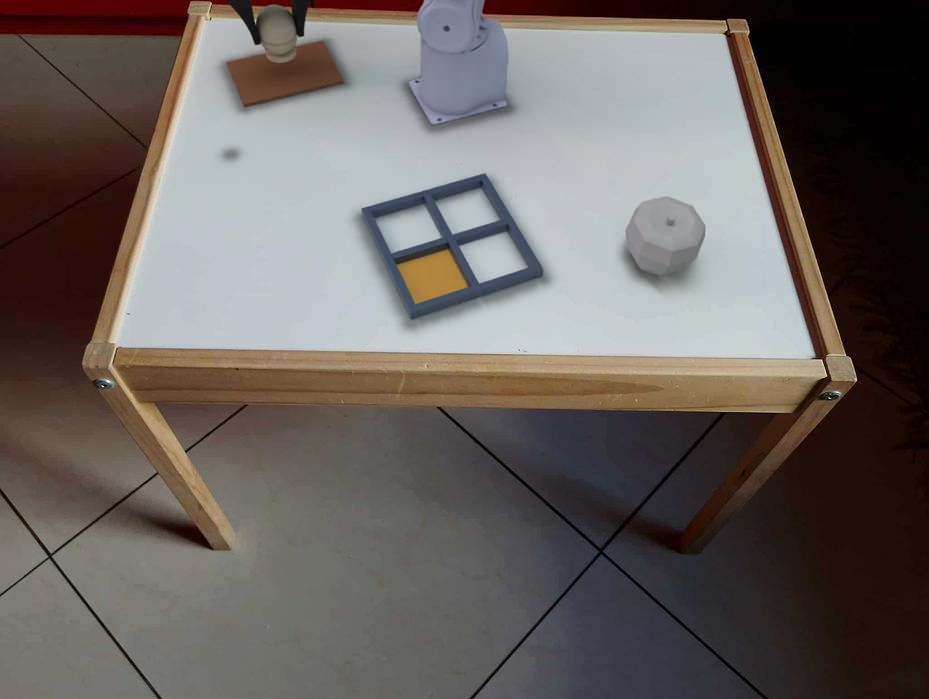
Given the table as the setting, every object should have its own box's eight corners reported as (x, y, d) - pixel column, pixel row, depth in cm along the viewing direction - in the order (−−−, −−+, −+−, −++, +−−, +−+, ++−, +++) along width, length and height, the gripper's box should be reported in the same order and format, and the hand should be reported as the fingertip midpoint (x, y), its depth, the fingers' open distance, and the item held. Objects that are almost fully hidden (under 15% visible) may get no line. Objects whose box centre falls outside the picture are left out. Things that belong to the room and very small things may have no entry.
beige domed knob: (295, 38, 89) (287, -7, 84) (304, 61, 87) (297, 16, 82) (258, 45, 88) (248, 0, 83) (266, 68, 86) (257, 23, 81)
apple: (614, 227, 79) (628, 183, 74) (688, 233, 79) (708, 189, 74) (618, 288, 75) (633, 246, 69) (696, 294, 75) (718, 252, 69)
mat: (323, 43, 93) (322, 40, 93) (343, 83, 89) (343, 80, 89) (227, 64, 90) (226, 61, 90) (244, 107, 86) (243, 104, 86)
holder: (484, 184, 82) (485, 172, 80) (541, 279, 75) (543, 269, 74) (362, 219, 78) (361, 208, 77) (410, 322, 72) (410, 312, 70)
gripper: (186, -53, 70) (220, 69, 82) (336, -76, 74) (348, 45, 85) (174, -92, 74) (208, 31, 85) (318, -113, 77) (332, 8, 88)
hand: (277, 35), depth 85 cm, fingers closed on beige domed knob, 4 cm apart
